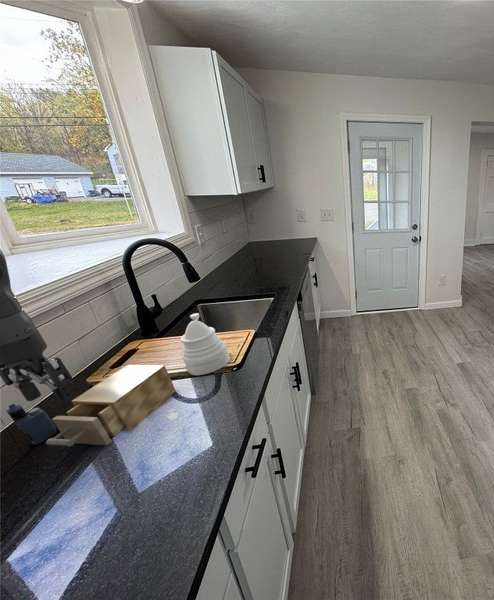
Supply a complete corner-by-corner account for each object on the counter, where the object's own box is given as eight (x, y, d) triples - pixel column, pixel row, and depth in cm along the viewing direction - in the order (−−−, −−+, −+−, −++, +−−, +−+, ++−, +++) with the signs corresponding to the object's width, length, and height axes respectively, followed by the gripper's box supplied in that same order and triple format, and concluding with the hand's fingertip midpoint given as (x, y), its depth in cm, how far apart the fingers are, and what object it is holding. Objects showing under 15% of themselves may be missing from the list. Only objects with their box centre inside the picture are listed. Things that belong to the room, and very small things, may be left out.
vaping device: (28, 445, 79) (1, 408, 75) (53, 429, 84) (29, 393, 79) (35, 446, 79) (8, 409, 74) (60, 430, 83) (36, 394, 79)
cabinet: (130, 431, 81) (113, 402, 77) (88, 429, 83) (71, 401, 79) (176, 391, 95) (164, 365, 92) (140, 390, 97) (127, 364, 93)
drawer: (88, 461, 72) (71, 436, 69) (47, 458, 74) (29, 434, 71) (156, 403, 89) (145, 381, 86) (121, 402, 91) (110, 380, 88)
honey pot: (197, 356, 113) (179, 312, 106) (234, 350, 115) (219, 306, 108) (181, 378, 101) (160, 329, 94) (223, 371, 103) (205, 323, 96)
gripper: (-45, 345, 60) (3, 410, 67) (15, 346, 58) (58, 413, 65) (4, 326, 67) (44, 387, 73) (60, 326, 65) (95, 389, 71)
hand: (51, 399), depth 69 cm, fingers open, 8 cm apart
